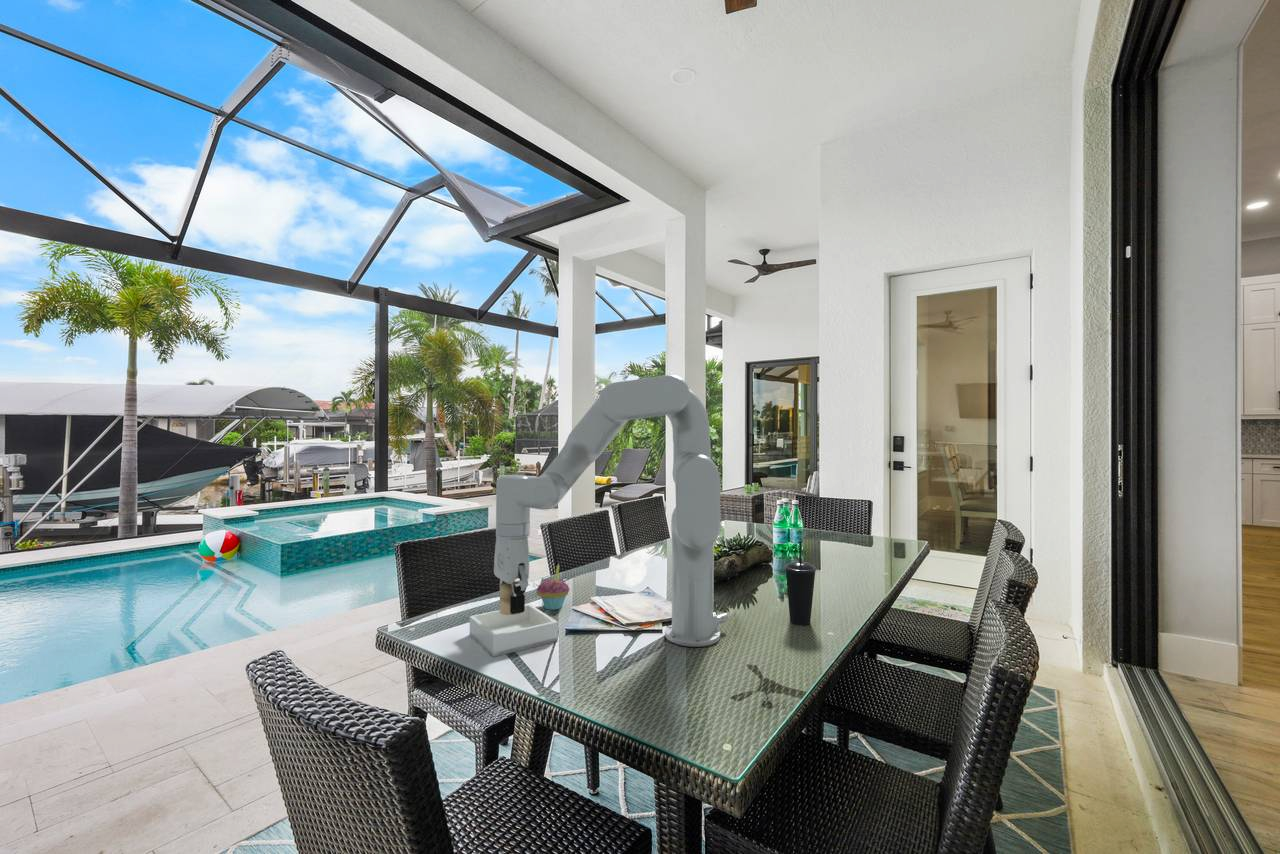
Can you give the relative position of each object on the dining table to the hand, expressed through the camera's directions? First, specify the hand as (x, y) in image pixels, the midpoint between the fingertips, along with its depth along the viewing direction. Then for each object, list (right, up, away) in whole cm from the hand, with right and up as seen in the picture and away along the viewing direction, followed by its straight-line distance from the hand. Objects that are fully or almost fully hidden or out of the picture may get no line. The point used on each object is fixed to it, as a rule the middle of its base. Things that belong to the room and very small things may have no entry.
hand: (512, 608), depth 127 cm
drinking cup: (+69, -7, +11) cm, 70 cm away
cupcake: (+6, -7, +21) cm, 23 cm away
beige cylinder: (0, -1, 0) cm, 1 cm away
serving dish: (0, -7, 0) cm, 7 cm away
